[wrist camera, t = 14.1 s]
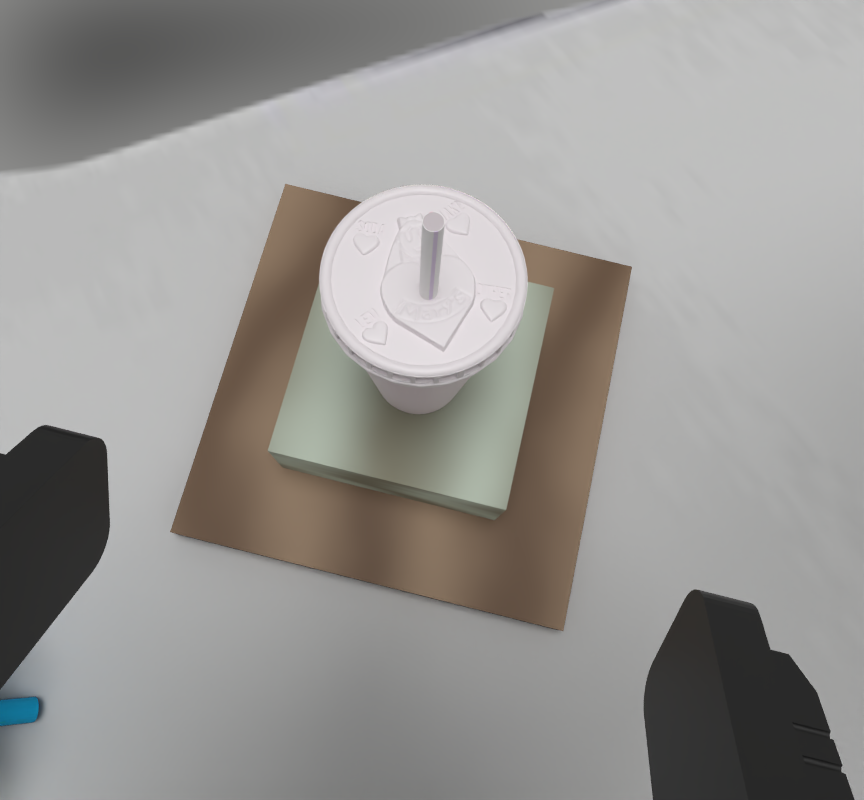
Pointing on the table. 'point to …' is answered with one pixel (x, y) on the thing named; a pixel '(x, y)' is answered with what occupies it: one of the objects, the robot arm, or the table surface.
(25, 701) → the blue knobby piece
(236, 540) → the plinth
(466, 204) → the smoothie
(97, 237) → the table surface
